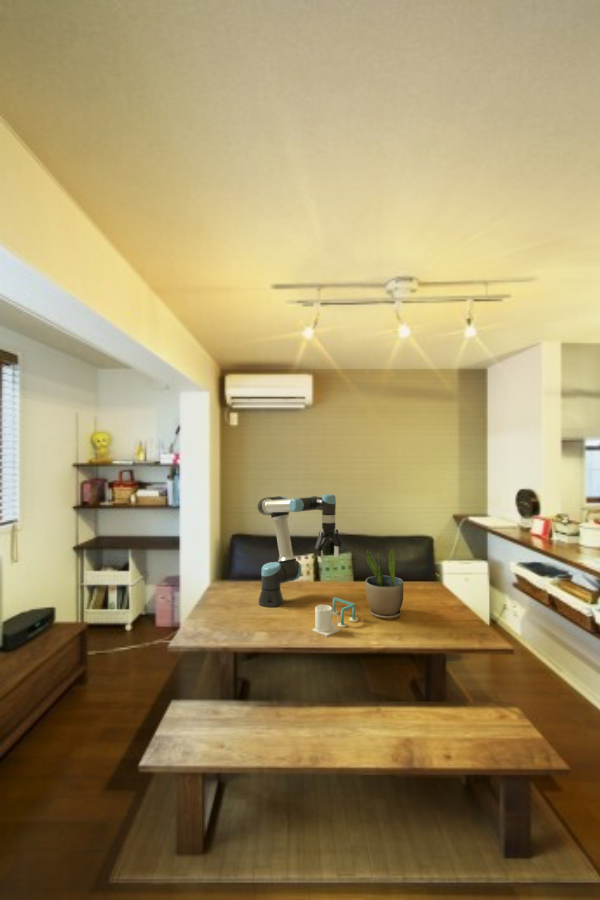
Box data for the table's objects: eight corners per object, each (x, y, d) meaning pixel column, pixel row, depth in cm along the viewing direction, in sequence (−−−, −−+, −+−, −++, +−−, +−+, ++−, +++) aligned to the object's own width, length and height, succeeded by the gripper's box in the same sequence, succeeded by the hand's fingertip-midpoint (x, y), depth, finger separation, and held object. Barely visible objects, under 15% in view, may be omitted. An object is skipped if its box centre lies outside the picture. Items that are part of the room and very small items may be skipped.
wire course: (316, 618, 225) (316, 601, 225) (333, 610, 236) (333, 595, 236) (342, 628, 212) (343, 611, 212) (360, 620, 222) (360, 603, 222)
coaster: (311, 630, 209) (311, 629, 209) (324, 625, 216) (324, 623, 216) (326, 636, 202) (326, 635, 202) (339, 630, 209) (339, 629, 209)
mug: (337, 633, 204) (337, 612, 204) (314, 631, 206) (314, 610, 206) (339, 626, 212) (339, 605, 213) (316, 624, 215) (316, 604, 215)
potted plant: (357, 615, 230) (358, 544, 231) (378, 604, 246) (378, 538, 246) (390, 625, 216) (390, 550, 216) (410, 614, 232) (410, 543, 232)
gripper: (318, 525, 218) (318, 565, 217) (348, 520, 235) (347, 557, 235) (308, 523, 223) (308, 562, 223) (338, 518, 240) (337, 554, 240)
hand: (328, 559), depth 229 cm, fingers open, 13 cm apart
